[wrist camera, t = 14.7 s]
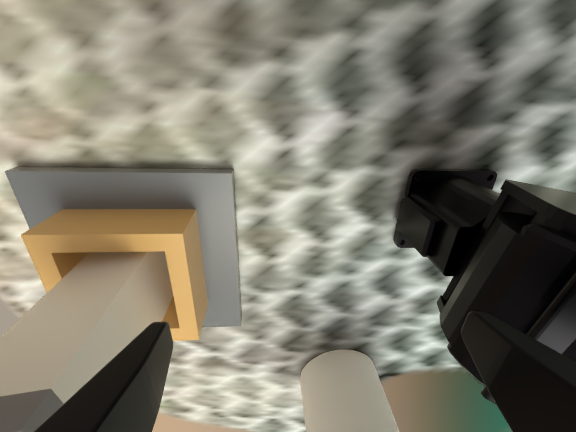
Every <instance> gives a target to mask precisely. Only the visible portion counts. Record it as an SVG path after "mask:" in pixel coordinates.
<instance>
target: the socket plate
mask: <svg viewBox="0 0 576 432" xmlns="http://www.w3.org/2000/svg"><path fill="white" fill-rule="evenodd" d="M5 173H6V175H7V177H8V180H9V182H10V184H11V187H12V189H13V191H14V194H15V196H16V198H17V201H18V203H19V205H20V207H21V210H22V212H23V214H24V217H25V219H26V221H27V224H28V226H29V228H30V230H28V231H26V232H25V233H23V234H21V237H22V239H23V241H24V243H25V246H26V248H27V250H28V252H29V254H30V257H31V259H32V261H33V263H34V265H35V268H36V270H37V272H38V274H39V277H40V279H41V281H42V283H43V285H44V288H45V290H46V292H47V293H48V292H49V291H50V290H51V289H52V288H53V287H54V286H55V285H56V284H57V283H58V282H59V281H60V280H61V279H62V278H63V277H64V276H65V275H67V274H68V273H69V272H70V271H71V270H72V269H73V268H74V267H75V266H76V265H77V264H78V263H79V262H80V261H81V260H82V259H83V258H84V257H85V256H86V255H87V254H89V253H90V252H157V251H165V255H166V260H167V265H168V270H169V276H170V281H171V286H172V291H173V297H172V300H171V302H170V304H169V306H168V309H167V311H166V313H165V316H164V318H163V320H162V322H168V323H169V326H170V330H171V335H172V340H173V341H179V340H199V338H200V334H201V330H202V327H226V326H241V320H242V313H241V295H240V277H239V259H238V241H237V223H236V204H235V186H234V169H165V168H77V167H16V168H13V169H10V170H7V171H5Z"/></svg>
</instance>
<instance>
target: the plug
mask: <svg viewBox="0 0 576 432" xmlns="http://www.w3.org/2000/svg"><path fill="white" fill-rule="evenodd" d="M172 297H173V291H172V286H171V281H170V276H169V270H168V265H167V260H166V255H165V251H157V252H90V253H89V254H87V255H86V256H85V257H84V258H83V259H82V260H81V261H80V262H79V263H78V264H77V265H76V266H75V267H74V268H73V269H72V270H71V271H70V272H69V273H68V274H67V275H65V276H64V277H63V278H62V279H61V280H60V281H59V282H58V283H57V284H56V285H55V286H54V287H53V288H52V289H51V290H50V291H49V292H48V293H47V294H46V295H45V296H43V297H42V298H41V299H40V300H39V301H38V302H37V303H36V304H35V305H34V306H33V307H32V308H31V309H30V310H29V311H28V312H27V313H26V314H25V315H24V316H23V317H22V318H20V319H19V320H18V321H17V323H15V324H14V325H13V326H12V327H11V328H10V329H9V330H8V331H7V332H6V333H5V334H4V335H3V336H2V337H1V338H0V432H34V431H35V430H36V429H37V428H38V427H39V426H40V425H41V424H42V423H44V422H45V421H46V420H47V419H48V418H49V417H50V416H51V415H52V414H53V413H54V412H55V411H57V410H58V409H59V408H60V407H61V406H62V405H63V404H64V403H65V402H66V401H67V400H68V399H70V398H71V397H72V396H73V395H74V394H75V393H76V392H77V391H78V390H79V389H80V388H81V387H83V386H84V385H85V384H86V383H87V382H88V381H89V380H90V379H91V378H92V377H93V376H94V375H96V374H97V373H98V372H99V371H100V370H101V369H102V368H103V367H104V366H105V365H106V364H107V363H109V362H110V361H111V360H112V359H113V358H114V357H115V356H116V355H117V354H118V353H119V352H120V351H122V350H123V349H124V348H125V347H126V346H127V345H128V344H129V343H130V342H131V341H132V340H133V339H135V338H136V337H137V336H138V335H139V334H140V333H141V332H142V331H143V330H144V329H145V328H146V327H148V326H149V325H150V324H151V323H153V322H162V320H163V318H164V316H165V313H166V311H167V309H168V306H169V304H170V302H171V300H172Z"/></svg>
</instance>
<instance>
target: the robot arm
mask: <svg viewBox="0 0 576 432" xmlns="http://www.w3.org/2000/svg"><path fill="white" fill-rule="evenodd" d="M417 174H419V177H418V178H417V179H415V177H416V175H417ZM489 175H490V176H489ZM488 176H489V178H488V179H487V177H488ZM496 178H497V173H496V172H494V171H492V170H475V169H415V170H413V171H412V172H411V173H410V175H409V180H408V184H407V188H406V192H405V196H404V197H403V199H402V202H401V206H400V211H399V215H398V219H397V224H396V228H397V231H396V235H395V239H394V242H395V244H396V245H397V246H398V247H400V248H415V249H416V250H417V251H418V252H419V253H420V254H421V255H422V256H423V257H428V258H429V260H430V261H431V262H432V263H433V264H434V265H435V266H436V267H437V268H438V269H439V270H440V271H441V272H442V273H443V275H444V276H454V277H453V278H452V280H451V282H450V284H449V285H448V287H447V289H446V291H445V293H444V294H443V296H440V298H439V300H438V301H437V305H438V308H439V311H440V324H441V328H442V330H443V332H444V334H445V336H446V338H447V340H448V341H449V344H448V346H447V348H448V350H449V351H450V353H451V354H452V356H453V357H454V358H455V359H456V360H457V361H458V363H459V364H460V365H461V366H462V367H463V368H464V369H465V370H466V371H467V372H468V373H469V374H470V375H471V376H472V377H474V379H476V380H477V381H478V382H479V383H481V384H482V385H483V386H485V387H484V388H483V389H482V391H481V394H482V395H483V397H485V398H486V399H487V400H489V401H491V402H493V403H495V404H496V405H497V406H498V408H499V410H500V411H501V413H502V415H503V416H504V418H505V420H506V421H507V423H508V424H509V426H510V428H511V430H512V431H513V432H576V193H573V192H568V191H563V190H558V189H553V188H548V187H543V186H537V185H532V184H527V183H522V182H517V181H512V180H505V182H504V183H503V185H502V187H501V190H502V191H501V193H500V194H499V193H497V192H495V191H493V190H492V189H493V186H494V183H495V181H496ZM401 240H403V241H402V242H400V241H401ZM399 242H400V243H399ZM172 350H173V340H172V335H171V330H170V326H169V323H168V322H153V323H151V324H150V325H149V326H148V327H146V328H145V329H144V330H143V331H142V332H141V333H140V334H139V335H138V336H137V337H136V338H135V339H133V340H132V341H131V342H130V343H129V344H128V345H127V346H126V347H125V348H124V349H123V350H122V351H120V352H119V353H118V354H117V355H116V356H115V357H114V358H113V359H112V360H111V361H110V362H109V363H107V364H106V365H105V366H104V367H103V368H102V369H101V370H100V371H99V372H98V373H97V374H96V375H94V376H93V377H92V378H91V379H90V380H89V381H88V382H87V383H86V384H85V385H84V386H83V387H81V388H80V389H79V390H78V391H77V392H76V393H75V394H74V395H73V396H72V397H71V398H70V399H68V400H67V401H66V402H65V403H64V404H63V405H62V406H61V407H60V408H59V409H58V410H57V411H55V412H54V413H53V414H52V415H51V416H50V417H49V418H48V419H47V420H46V421H45V422H44V423H42V424H41V425H40V426H39V427H38V428H37V429H36V430H35V431H34V432H152V430H153V426H154V424H155V420H156V417H157V414H158V411H159V407H160V403H161V399H162V395H163V390H164V386H165V381H166V377H167V373H168V368H169V364H170V359H171V355H172Z"/></svg>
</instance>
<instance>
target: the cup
mask: <svg viewBox="0 0 576 432" xmlns="http://www.w3.org/2000/svg"><path fill="white" fill-rule="evenodd" d="M300 383H301V391H302V400H303V409H304V417H305V426H306V432H399V429H398V427H397V424H396V421H395V419H394V416H393V413H392V411H391V408H390V406H389V403H388V400H387V398H386V395H385V393H384V390H383V387H382V385H381V382H380V380H379V377H378V374H377V372H376V369H375V367H374V364H373V362H372V360H371V359H370V358H369V357H368V356H367V355H365V354H363V353H361V352H358V351H354V350H345V349H343V350H334V351H329V352H326V353H323V354H321V355H319V356H317V357H315V358H313V359H312V360H311V361H309V362H308V363H307V364H306V365H305V367H304V368H303V370H302V372H301V375H300Z"/></svg>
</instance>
